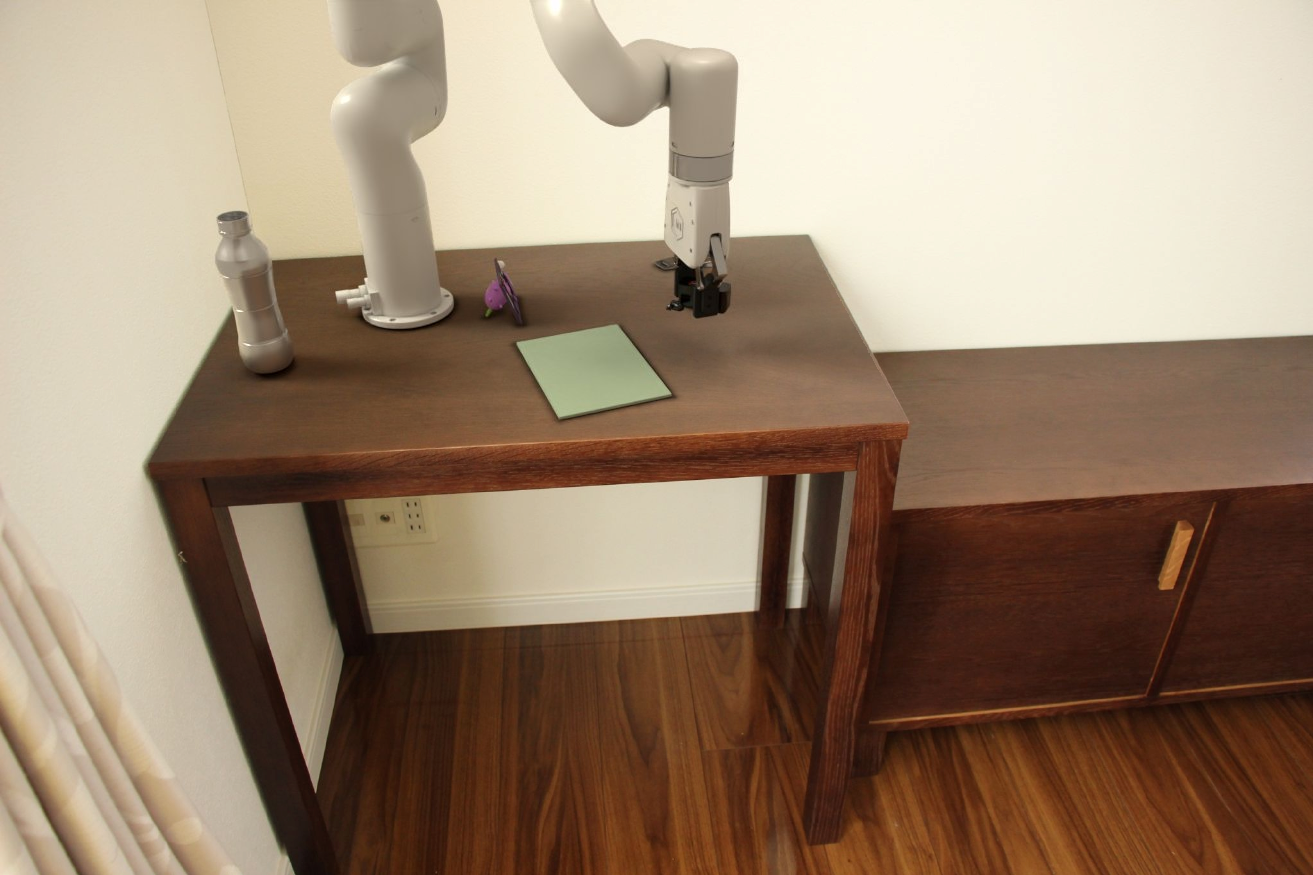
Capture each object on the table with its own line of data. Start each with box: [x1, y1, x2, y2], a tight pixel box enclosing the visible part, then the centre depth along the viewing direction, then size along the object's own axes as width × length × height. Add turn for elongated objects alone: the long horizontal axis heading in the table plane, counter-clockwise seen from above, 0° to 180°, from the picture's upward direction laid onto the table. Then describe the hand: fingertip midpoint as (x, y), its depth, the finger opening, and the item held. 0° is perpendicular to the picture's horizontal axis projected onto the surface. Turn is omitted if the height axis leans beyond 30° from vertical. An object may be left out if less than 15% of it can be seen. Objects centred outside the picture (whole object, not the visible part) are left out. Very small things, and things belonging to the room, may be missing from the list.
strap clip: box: [654, 256, 678, 270], centre depth 151 cm, size 8×3×4 cm, turn 123°
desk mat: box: [516, 323, 673, 421], centre depth 124 cm, size 14×20×1 cm
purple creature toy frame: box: [484, 257, 523, 326], centre depth 136 cm, size 7×5×9 cm
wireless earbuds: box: [665, 277, 732, 315], centre depth 123 cm, size 5×7×3 cm, turn 70°
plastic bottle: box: [214, 210, 295, 375], centre depth 120 cm, size 6×7×20 cm
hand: (695, 304), depth 124 cm, fingers closed on wireless earbuds, 5 cm apart
